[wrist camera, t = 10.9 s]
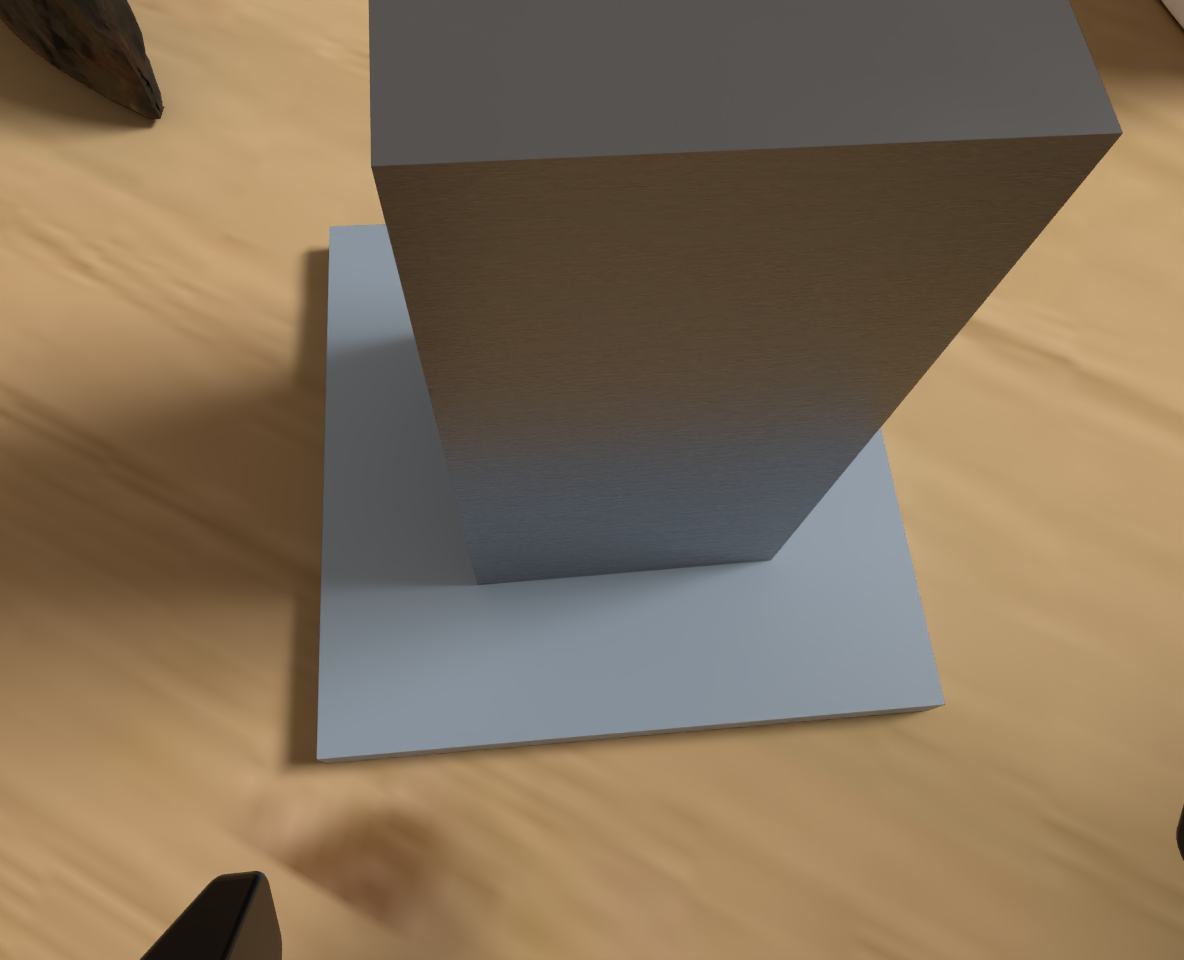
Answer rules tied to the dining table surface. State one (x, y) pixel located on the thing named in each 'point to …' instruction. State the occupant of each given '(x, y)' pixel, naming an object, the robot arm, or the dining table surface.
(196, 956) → the robot arm
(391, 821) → the dining table surface
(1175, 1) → the white cup
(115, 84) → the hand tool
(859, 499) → the base block
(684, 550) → the grey block
